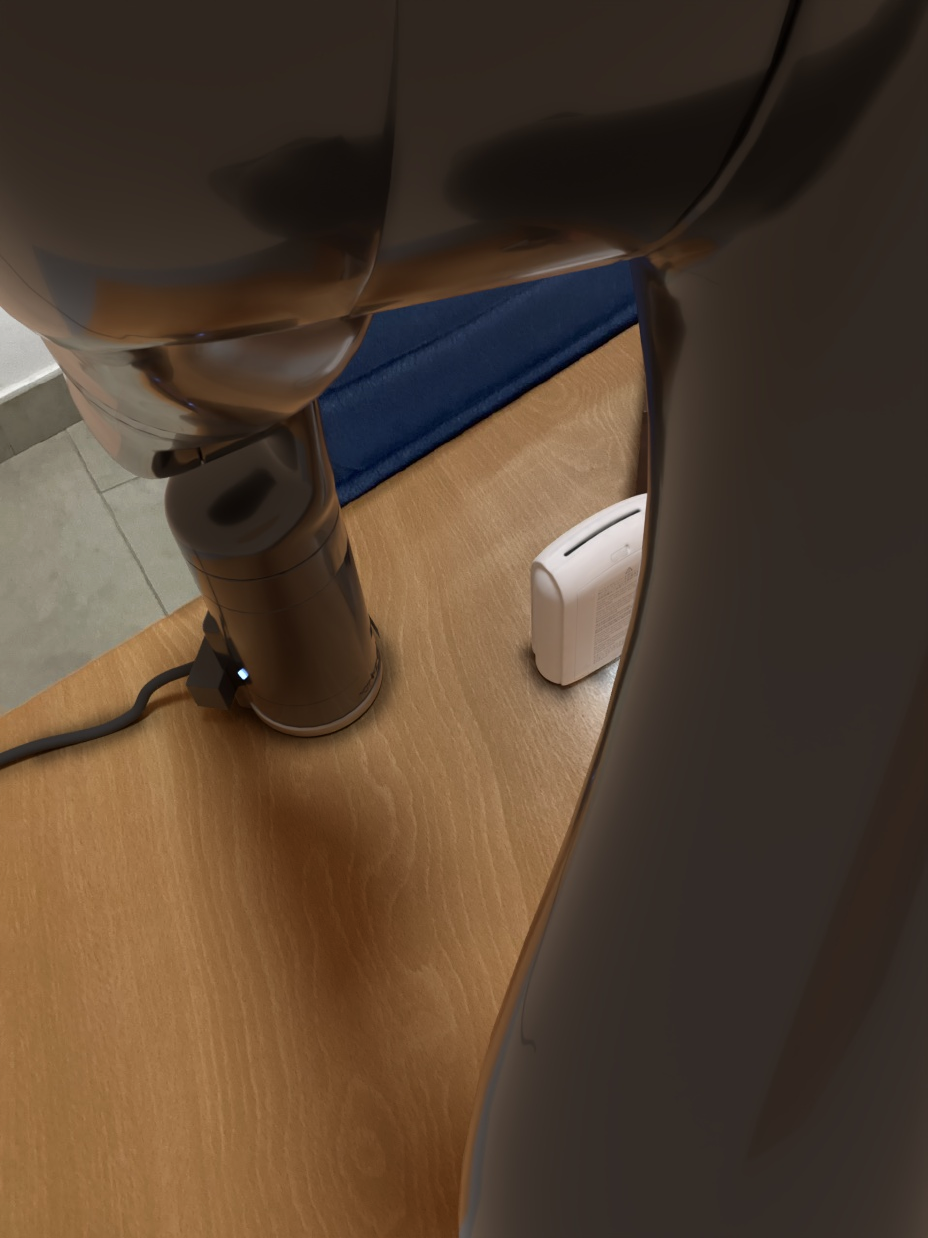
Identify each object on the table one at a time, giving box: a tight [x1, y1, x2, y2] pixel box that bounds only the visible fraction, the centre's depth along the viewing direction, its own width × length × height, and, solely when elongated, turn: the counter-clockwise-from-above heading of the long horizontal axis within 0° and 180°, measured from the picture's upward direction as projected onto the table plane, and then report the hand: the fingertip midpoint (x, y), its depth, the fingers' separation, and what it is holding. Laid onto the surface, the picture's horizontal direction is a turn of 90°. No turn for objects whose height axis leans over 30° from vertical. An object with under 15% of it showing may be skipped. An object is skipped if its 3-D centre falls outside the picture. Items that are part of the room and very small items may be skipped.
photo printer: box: [529, 493, 647, 686], centre depth 68 cm, size 10×4×12 cm, turn 123°
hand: (714, 940), depth 51 cm, fingers closed on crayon, 3 cm apart
